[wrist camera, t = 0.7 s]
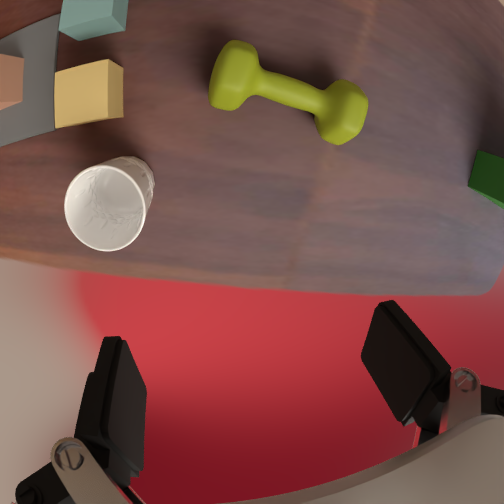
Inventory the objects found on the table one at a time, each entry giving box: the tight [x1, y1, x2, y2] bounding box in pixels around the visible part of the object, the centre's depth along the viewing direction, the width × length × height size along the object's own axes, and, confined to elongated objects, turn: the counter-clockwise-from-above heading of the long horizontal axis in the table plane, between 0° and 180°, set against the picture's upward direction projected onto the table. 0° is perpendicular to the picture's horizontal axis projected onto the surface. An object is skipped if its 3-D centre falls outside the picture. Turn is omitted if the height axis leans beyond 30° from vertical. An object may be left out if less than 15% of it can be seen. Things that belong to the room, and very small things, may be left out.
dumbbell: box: [208, 40, 368, 145], centre depth 26 cm, size 16×8×7 cm, turn 73°
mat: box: [0, 14, 61, 147], centre depth 20 cm, size 16×16×1 cm
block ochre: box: [54, 59, 123, 128], centre depth 23 cm, size 6×6×6 cm
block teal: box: [59, 0, 128, 41], centre depth 18 cm, size 6×6×6 cm
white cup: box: [64, 156, 155, 251], centre depth 26 cm, size 8×8×10 cm
